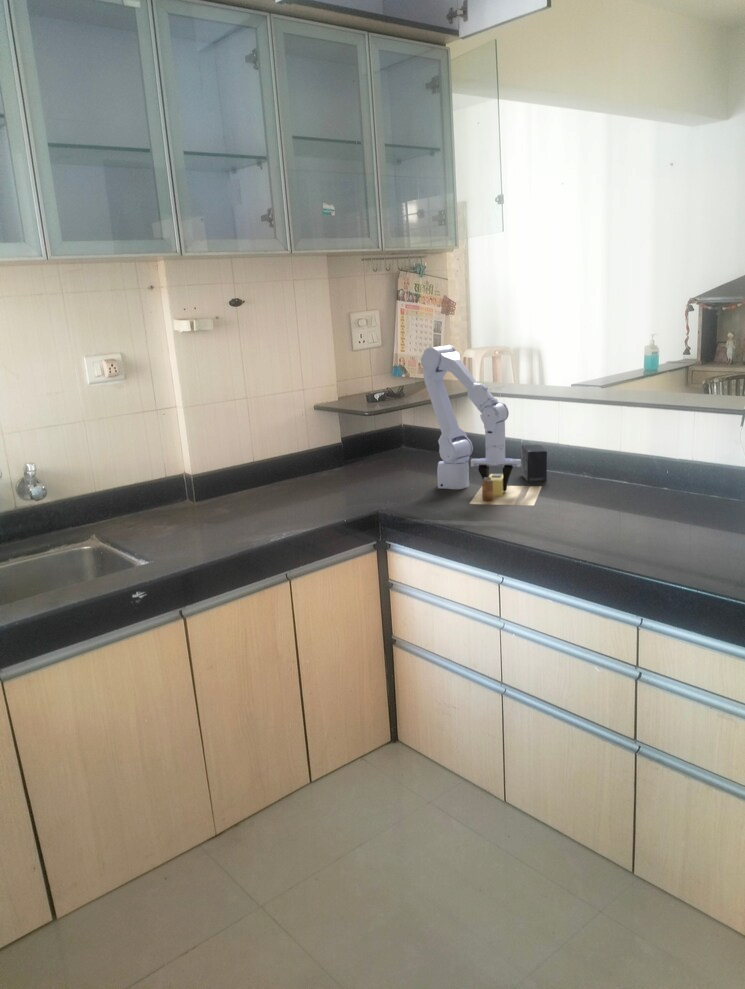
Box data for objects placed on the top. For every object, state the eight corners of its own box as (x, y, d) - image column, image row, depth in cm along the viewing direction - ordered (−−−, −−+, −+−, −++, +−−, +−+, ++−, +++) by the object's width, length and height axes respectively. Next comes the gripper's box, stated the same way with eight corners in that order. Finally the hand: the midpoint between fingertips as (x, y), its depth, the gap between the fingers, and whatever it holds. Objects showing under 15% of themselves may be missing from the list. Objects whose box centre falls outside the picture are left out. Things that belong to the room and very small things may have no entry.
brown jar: (481, 501, 215) (481, 479, 213) (483, 498, 218) (482, 476, 216) (492, 501, 214) (491, 479, 212) (493, 498, 217) (493, 476, 215)
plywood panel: (469, 507, 213) (469, 503, 213) (482, 488, 232) (482, 485, 232) (534, 509, 208) (533, 505, 207) (541, 489, 227) (541, 486, 227)
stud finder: (486, 495, 221) (486, 479, 219) (491, 488, 228) (490, 472, 227) (501, 495, 219) (501, 479, 218) (505, 488, 227) (505, 473, 225)
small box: (548, 483, 233) (548, 450, 231) (527, 484, 233) (526, 451, 231) (541, 475, 243) (541, 443, 241) (521, 477, 244) (520, 445, 241)
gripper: (468, 447, 219) (469, 492, 222) (518, 447, 214) (519, 493, 218) (472, 442, 225) (473, 486, 229) (521, 442, 220) (522, 487, 224)
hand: (496, 489), depth 223 cm, fingers closed on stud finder, 4 cm apart
